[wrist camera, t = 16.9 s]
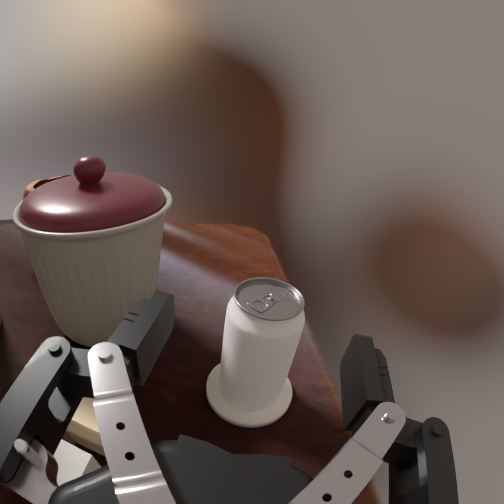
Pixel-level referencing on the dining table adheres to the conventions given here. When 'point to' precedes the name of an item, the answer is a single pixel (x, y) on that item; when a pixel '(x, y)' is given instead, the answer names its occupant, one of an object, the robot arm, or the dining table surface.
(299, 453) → the dining table surface
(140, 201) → the canister
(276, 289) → the can
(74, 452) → the white rectangular block
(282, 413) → the cream saucer
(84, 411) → the beech block
